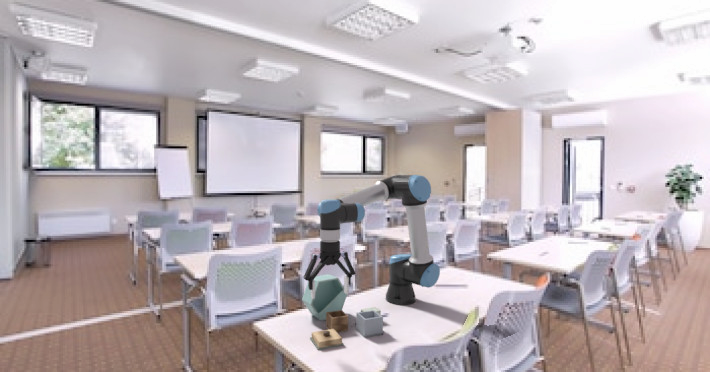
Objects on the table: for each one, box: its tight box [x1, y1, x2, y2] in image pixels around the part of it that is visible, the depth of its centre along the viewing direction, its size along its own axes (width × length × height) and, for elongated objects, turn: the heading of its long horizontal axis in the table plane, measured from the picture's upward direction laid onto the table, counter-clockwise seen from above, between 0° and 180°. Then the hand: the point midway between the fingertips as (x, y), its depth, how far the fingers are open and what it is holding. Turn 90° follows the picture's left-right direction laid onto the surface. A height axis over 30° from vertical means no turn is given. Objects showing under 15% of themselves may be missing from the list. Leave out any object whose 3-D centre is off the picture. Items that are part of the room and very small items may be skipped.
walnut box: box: [325, 309, 349, 333], centre depth 151 cm, size 7×7×6 cm
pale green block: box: [360, 306, 382, 316], centre depth 159 cm, size 7×5×5 cm
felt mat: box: [309, 336, 344, 351], centre depth 138 cm, size 10×10×1 cm
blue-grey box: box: [355, 310, 384, 338], centre depth 148 cm, size 8×8×7 cm
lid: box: [311, 329, 343, 348], centre depth 138 cm, size 9×9×3 cm
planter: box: [301, 273, 348, 322], centre depth 164 cm, size 17×8×21 cm
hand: (329, 295), depth 140 cm, fingers open, 13 cm apart
